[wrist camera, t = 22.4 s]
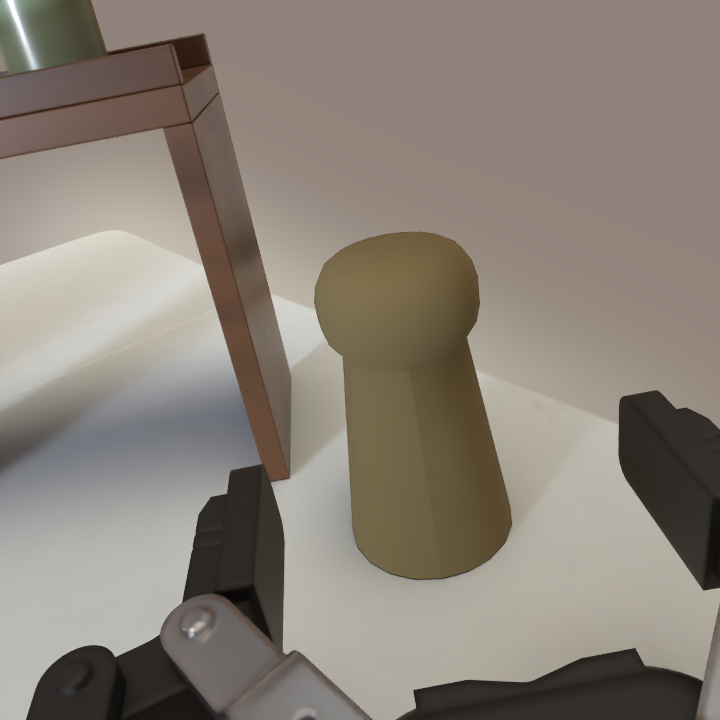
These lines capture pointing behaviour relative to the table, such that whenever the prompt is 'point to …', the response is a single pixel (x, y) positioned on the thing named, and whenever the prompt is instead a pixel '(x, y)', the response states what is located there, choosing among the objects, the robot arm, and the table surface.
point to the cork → (414, 404)
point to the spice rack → (190, 158)
